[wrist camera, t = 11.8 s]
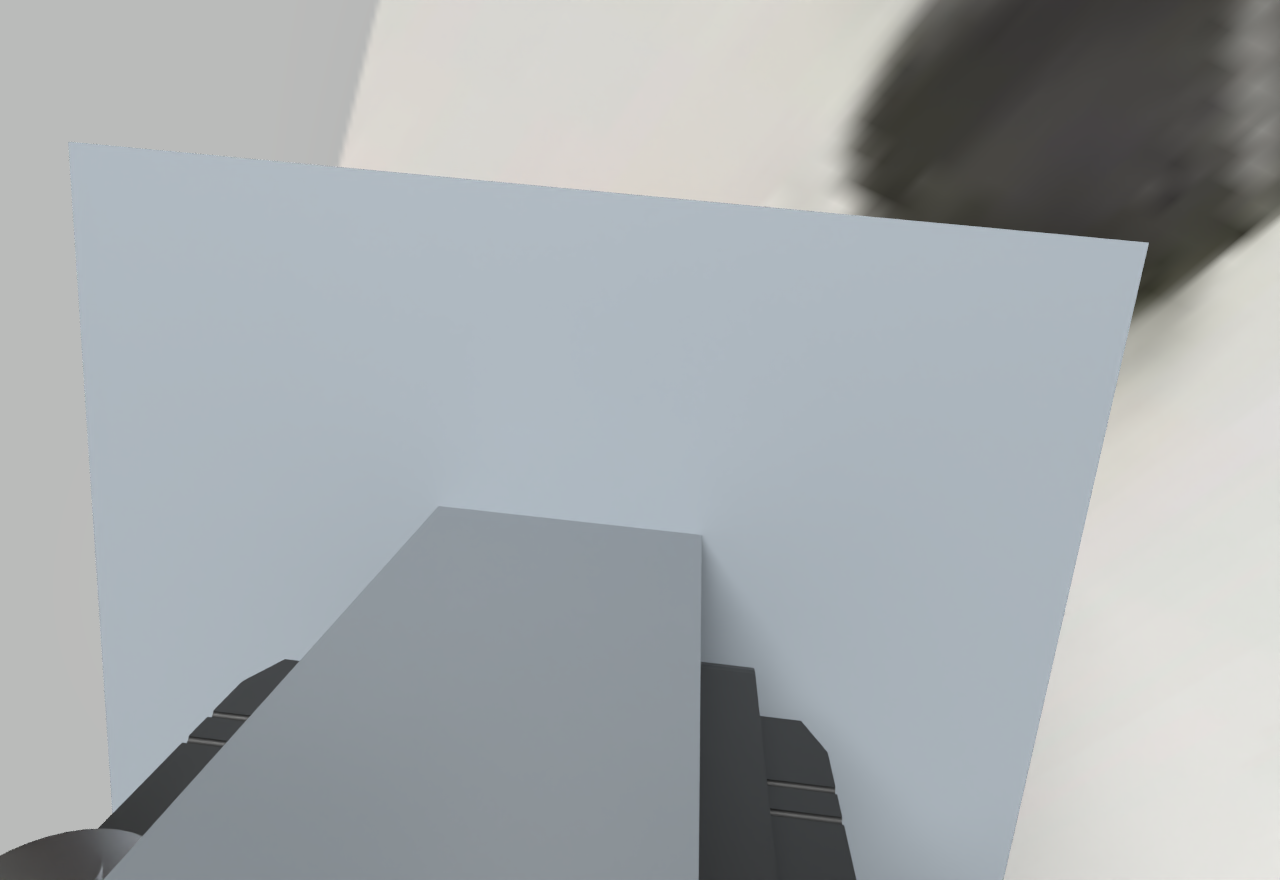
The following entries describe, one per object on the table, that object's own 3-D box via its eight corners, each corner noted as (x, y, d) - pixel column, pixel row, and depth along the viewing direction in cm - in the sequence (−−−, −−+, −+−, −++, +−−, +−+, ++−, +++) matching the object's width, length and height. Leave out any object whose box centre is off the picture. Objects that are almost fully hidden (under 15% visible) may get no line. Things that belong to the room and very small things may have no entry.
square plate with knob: (933, 226, 18) (1935, 304, 3) (848, 735, 20) (1186, 1970, 6) (368, 173, 18) (-916, 37, 4) (361, 676, 21) (-386, 1693, 7)
